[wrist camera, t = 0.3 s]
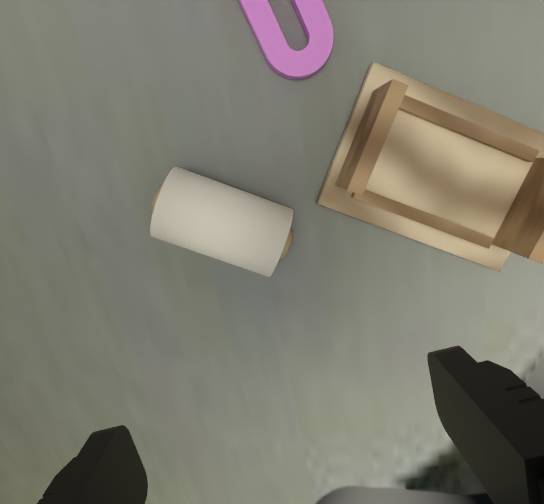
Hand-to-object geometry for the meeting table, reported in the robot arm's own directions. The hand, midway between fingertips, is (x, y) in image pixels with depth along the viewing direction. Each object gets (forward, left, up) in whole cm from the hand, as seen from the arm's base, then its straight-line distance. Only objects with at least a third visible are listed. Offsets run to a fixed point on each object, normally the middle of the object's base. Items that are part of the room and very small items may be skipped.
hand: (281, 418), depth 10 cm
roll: (0, -4, -26) cm, 26 cm away
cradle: (-10, +12, -25) cm, 30 cm away
